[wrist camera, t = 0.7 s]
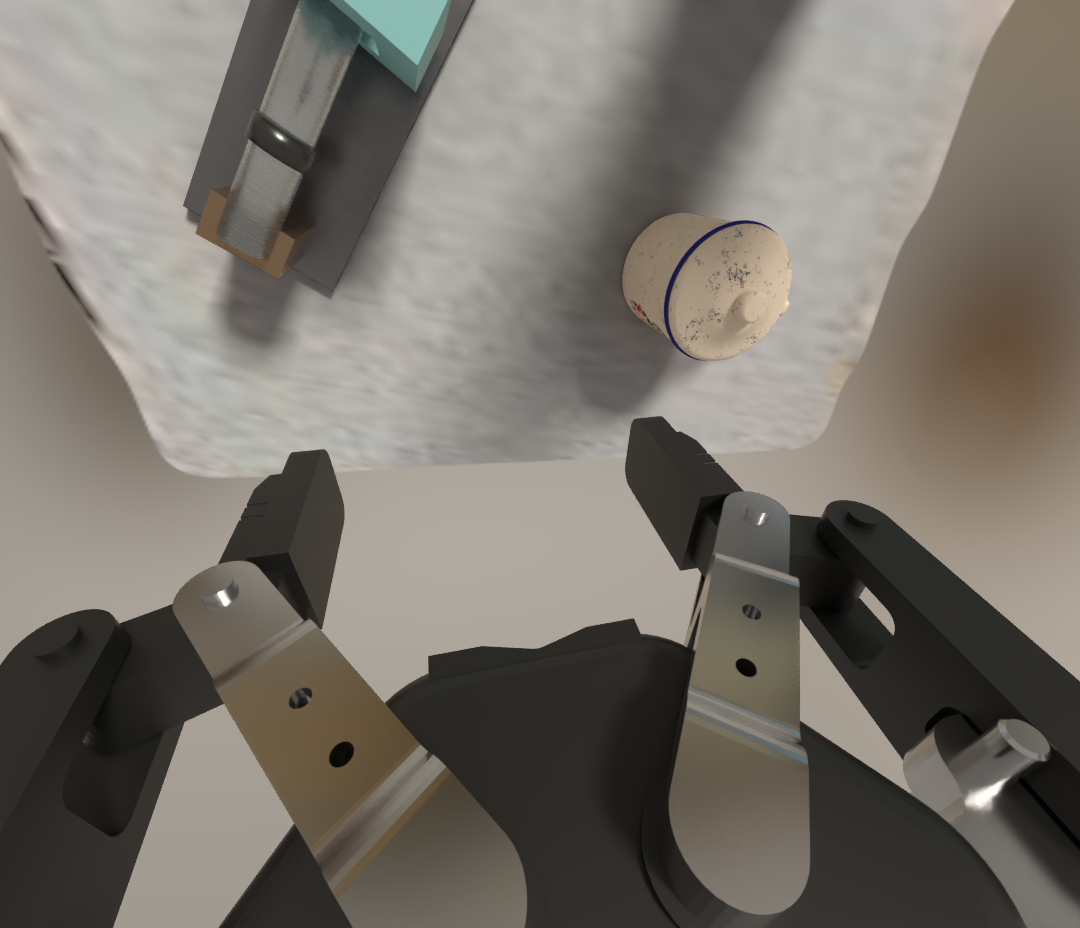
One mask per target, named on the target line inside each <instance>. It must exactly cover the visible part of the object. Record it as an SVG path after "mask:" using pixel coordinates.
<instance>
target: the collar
mask: <svg viewBox="0 0 1080 928" xmlns="http://www.w3.org/2000/svg"><path fill="white" fill-rule="evenodd" d="M330 1H331V2H332V3H333V4H334V5H335V6H337V7H338V8H339V9H340V10H341V11H342V12H343V13H345V14H346V15H347V16H348V17H349V18H350V19H351V20H353V21H354V22H355V23H356V24H357V25H358V26H359V27H361V28H362V29H363V30H364V31H363V33H362V36H361V38H360V40H359V44H360V45H361V46H362V47H363V48H364V49H366V50H367V51H368V52H369V53H370V54H371V55H373V56H374V57H375V58H376V59H377V60H378V61H380V62H381V63H382V64H383V65H384V66H385V67H387V68H388V69H389V70H390V71H391V72H392V73H394V74H395V75H396V76H397V77H398V78H399V79H401V80H402V81H403V82H404V83H405V84H406V85H408V86H409V87H410V88H411V89H412V90H413V91H415V92H416V90H417V88H418V86H419V84H420V82H421V80H422V78H423V75H424V73H425V71H426V69H427V67H428V65H429V63H430V61H431V59H432V56H433V54H434V52H435V50H436V48H437V46H438V44H439V42H440V39H441V37H442V35H443V31H444V27H445V23H446V19H447V16H448V12H449V8H450V4H451V0H330Z"/></svg>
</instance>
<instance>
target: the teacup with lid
mask: <svg viewBox="0 0 1080 928" xmlns="http://www.w3.org/2000/svg"><path fill="white" fill-rule="evenodd" d="M791 275H792V272H791V261H790V257H789V253H788V251H787V248H786V246H785V244H784V243H783V241H782V240H781V238H780V237H779V236H778V235H777V234H776V233H775V232H774V231H773V230H772V229H771V228H769V227H767V226H766V225H764V224H761V223H759V222H755V221H747V220H746V221H734V222H731V221H726V220H721V219H716V218H711V217H706V216H701V215H695V214H690V213H674V214H670V215H667V216H664V217H662V218H660V219H658V220H656V221H655V222H653V223H652V224H650V225H649V226H648V227H647V228H646V229H645V230H644V231H643V232H642V233H641V234H640V235H639V236H638V237H637V239H636V240H635V242H634V243H633V245H632V247H631V248H630V250H629V253H628V255H627V258H626V260H625V264H624V268H623V276H622V285H623V293H624V297H625V299H626V302H627V304H628V306H629V308H630V309H631V311H632V312H633V313H634V314H635V315H636V316H637V317H638V318H640V319H641V320H642V321H644V322H645V323H647V324H648V325H650V326H651V327H652V328H654V329H655V330H657V331H658V332H660V333H661V334H662V335H664V336H665V337H667V338H668V339H670V340H671V341H672V343H673V344H674V345H675V346H676V348H677V349H678V350H680V351H681V352H682V353H683V354H685V355H687V356H689V357H691V358H693V359H697V360H703V361H719V360H724V359H728V358H731V357H734V356H736V355H738V354H740V353H742V352H744V351H746V350H748V349H749V348H750V347H752V346H753V345H755V344H756V343H757V342H758V341H759V340H760V339H761V338H762V337H763V336H764V335H765V334H766V333H767V332H768V331H769V330H770V329H771V327H772V326H773V325H774V323H775V322H776V320H777V319H778V317H779V316H781V315H783V314H784V313H785V312H786V310H787V308H788V306H789V302H788V300H787V297H788V294H789V290H790V285H791Z"/></svg>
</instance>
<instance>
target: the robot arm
mask: <svg viewBox="0 0 1080 928" xmlns="http://www.w3.org/2000/svg"><path fill="white" fill-rule="evenodd" d="M625 472H626V479H627V482H628V485H629V487H630V488H631V490H632V492H633V493H634V495H635V497H636V499H637V500H638V502H639V503H640V505H641V507H642V508H643V510H644V511H645V513H646V515H647V517H648V518H649V520H650V521H651V523H652V525H653V526H654V528H655V530H656V531H657V533H658V535H659V536H660V538H661V539H662V541H663V543H664V545H665V546H666V548H667V549H668V551H669V553H670V554H671V556H672V557H673V559H674V561H675V562H676V564H677V566H678V568H679V569H680V570H687V569H693V568H698V569H699V570H700V572H701V576H700V579H699V583H698V587H697V591H696V596H695V600H694V604H693V609H692V613H691V618H690V622H689V626H688V630H687V635H686V639H685V643H684V645H682V644H679V643H677V642H674V641H672V640H669V639H665V638H662V637H658V636H653V635H648V634H640V632H639V629H638V627H637V625H636V623H635V620H634V619H628V620H622V621H617V622H612V623H606V624H600V625H595V626H590V627H585V628H583V629H581V630H579V631H577V632H575V633H572V634H570V635H568V636H566V637H564V638H562V639H559V640H557V641H555V642H553V643H551V644H548V645H546V646H544V647H541V648H538V649H524V648H505V647H504V648H503V647H486V646H481V647H475V648H470V649H465V650H459V651H454V652H449V653H443V654H438V655H432V656H428V659H429V660H428V662H429V663H428V665H429V674H426V675H424V676H422V677H420V678H418V679H416V680H415V681H413V682H411V683H409V684H408V685H406V686H405V687H404V688H402V689H401V690H399V691H398V692H397V693H395V694H394V695H393V696H392V697H391V698H390V699H389V700H388V701H386V702H385V703H384V702H383V701H382V700H381V699H380V697H379V696H378V695H377V694H376V693H375V692H374V691H373V689H372V688H371V687H370V686H369V685H368V684H367V682H366V681H365V680H364V679H363V678H362V677H361V676H360V674H359V673H358V672H357V671H356V670H355V669H354V668H353V667H352V665H351V664H350V663H349V662H348V661H347V660H346V659H345V657H344V656H343V655H342V654H341V653H340V652H339V651H338V649H337V648H336V647H335V646H334V645H333V644H332V643H331V642H330V640H329V639H328V638H327V637H326V636H325V634H324V633H323V632H322V631H321V630H320V629H322V626H323V622H324V616H325V612H326V607H327V602H328V598H329V593H330V588H331V583H332V578H333V573H334V568H335V563H336V559H337V553H338V548H339V544H340V539H341V533H342V529H343V524H344V504H343V500H342V496H341V493H340V490H339V486H338V483H337V480H336V476H335V473H334V470H333V467H332V463H331V460H330V457H329V455H328V453H327V451H326V450H325V449H322V450H312V451H302V452H292V453H291V454H290V455H289V458H288V460H287V462H286V465H285V467H284V469H283V472H282V474H276V475H270V476H269V477H268V478H266V479H265V480H264V481H263V482H262V483H261V484H260V485H259V486H258V487H256V488H255V489H254V491H253V493H252V495H251V497H250V499H249V502H248V503H247V508H245V510H244V512H243V514H242V516H241V521H239V522H238V524H237V526H236V528H235V530H234V532H233V535H232V537H231V538H230V540H229V543H228V545H227V547H226V549H225V551H224V553H223V555H222V557H221V559H220V561H219V563H218V565H216V566H213V567H211V568H209V569H206V570H204V571H202V572H201V573H199V574H197V575H196V576H194V577H193V578H191V579H190V580H189V581H188V582H187V583H186V584H185V585H184V586H183V587H182V588H181V589H180V590H179V592H178V593H177V594H176V597H175V598H174V601H173V604H171V605H169V606H167V607H164V608H161V609H159V610H156V611H153V612H151V613H148V614H145V615H142V616H139V617H136V618H134V619H131V620H128V621H125V622H122V623H120V624H119V623H118V621H117V620H116V619H115V618H114V617H113V615H111V614H110V613H109V612H107V611H104V610H99V609H90V610H83V611H78V612H74V613H71V614H68V615H65V616H62V617H60V618H58V619H55V620H53V621H51V622H49V623H47V624H45V625H44V626H42V627H40V628H39V629H37V630H36V631H34V632H33V633H31V634H30V635H28V636H27V637H26V638H25V639H23V640H22V641H21V642H20V643H19V644H18V645H17V646H15V647H14V648H13V649H12V651H11V652H10V653H9V654H8V655H7V657H6V658H5V660H4V661H3V662H2V664H1V665H0V928H113V926H114V923H115V920H116V917H117V914H118V911H119V909H120V906H121V903H122V900H123V897H124V894H125V891H126V888H127V885H128V883H129V880H130V877H131V874H132V871H133V868H134V866H135V863H136V859H137V857H138V854H139V851H140V848H141V845H142V843H143V840H144V837H145V834H146V831H147V828H148V825H149V822H150V820H151V817H152V814H153V811H154V808H155V805H156V802H157V799H158V796H159V794H160V791H161V788H162V785H163V782H164V779H165V777H166V773H167V771H168V768H169V765H170V762H171V759H172V756H173V753H174V751H175V748H176V745H177V742H178V739H179V736H180V733H181V731H182V728H183V725H184V722H185V721H187V720H189V719H192V718H194V717H196V716H198V715H200V714H203V713H205V712H207V711H209V710H211V709H213V708H216V707H218V706H220V705H222V704H225V706H226V708H227V709H228V711H229V713H230V715H231V716H232V718H233V720H234V721H235V723H236V725H237V726H238V728H239V730H240V732H241V733H242V735H243V737H244V738H245V740H246V742H247V743H248V745H249V747H250V749H251V750H252V752H253V754H254V755H255V757H256V759H257V760H258V762H259V764H260V766H261V767H262V769H263V770H264V772H265V774H266V776H267V777H268V779H269V781H270V782H271V784H272V786H273V788H274V789H275V791H276V793H277V795H278V796H279V798H280V800H281V801H282V803H283V805H284V806H285V808H286V810H287V811H288V813H289V815H290V817H291V818H292V820H293V822H294V824H293V826H292V827H291V829H290V830H289V832H288V833H287V834H286V836H285V837H284V838H283V840H282V841H281V842H280V844H279V845H278V846H277V848H276V849H275V851H274V852H273V853H272V855H271V856H270V858H269V859H268V860H267V862H266V863H265V865H264V866H263V867H262V869H261V870H260V872H259V873H258V874H257V875H256V877H255V878H254V880H253V881H252V882H251V884H250V885H249V886H248V888H247V889H246V891H245V892H244V893H243V895H242V896H241V898H240V899H239V900H238V902H237V903H236V904H235V906H234V907H233V909H232V910H231V911H230V913H229V914H228V915H227V917H226V918H225V920H224V921H223V922H222V924H221V925H220V926H219V928H1080V681H1079V680H1077V679H1076V678H1075V677H1074V676H1073V675H1072V674H1071V673H1069V672H1068V671H1067V670H1066V669H1065V668H1064V667H1062V666H1061V665H1060V664H1059V663H1058V662H1057V661H1055V660H1054V659H1053V658H1052V657H1051V656H1049V655H1048V654H1047V653H1046V652H1045V651H1044V650H1042V649H1041V648H1040V647H1039V646H1038V645H1037V644H1036V643H1034V642H1033V641H1032V640H1031V639H1030V638H1029V637H1027V636H1026V635H1025V634H1024V633H1023V632H1022V631H1020V630H1019V629H1018V628H1017V627H1016V626H1015V625H1013V624H1012V623H1011V622H1010V621H1009V620H1008V619H1007V618H1005V617H1004V616H1003V615H1002V614H1001V613H1000V612H998V611H997V610H996V609H995V608H994V607H993V606H991V605H990V604H989V603H988V602H987V601H986V600H984V599H983V598H982V597H981V596H980V595H979V594H977V593H976V592H975V591H974V590H973V589H972V588H970V587H969V586H968V585H967V584H966V583H965V582H963V581H962V580H961V579H960V578H959V577H958V576H956V575H955V574H954V573H953V572H952V571H951V570H949V569H948V568H947V567H946V566H945V565H943V564H942V563H941V562H940V561H939V560H938V559H937V558H936V557H934V556H933V555H932V554H931V553H930V552H929V551H927V550H926V549H925V548H924V547H923V546H922V545H920V544H919V543H918V542H917V541H916V540H915V539H913V538H912V537H911V536H910V535H909V534H907V533H906V532H905V531H904V530H903V529H902V528H901V527H899V526H898V525H897V524H896V523H895V522H894V521H893V520H891V519H890V518H889V517H888V516H886V515H885V514H883V513H882V512H880V511H879V510H877V509H875V508H873V507H871V506H868V505H865V504H862V503H859V502H854V501H847V500H840V501H834V502H831V503H830V504H828V505H827V507H826V509H825V511H824V513H823V515H822V517H810V516H799V515H790V514H789V513H788V512H787V510H786V509H785V508H784V507H783V506H782V505H781V504H780V503H778V502H777V501H776V500H774V499H772V498H770V497H768V496H765V495H762V494H759V493H754V492H748V491H743V490H742V489H741V488H740V487H739V486H738V484H737V483H736V482H735V481H734V480H733V479H732V478H731V477H730V476H729V475H728V474H727V473H726V472H725V471H724V470H723V468H722V467H721V466H720V465H719V464H718V463H715V460H714V459H713V458H712V457H711V455H710V454H707V451H706V450H705V449H704V448H703V447H702V446H701V445H700V444H699V443H698V442H697V440H695V439H693V438H691V437H689V436H688V435H686V434H684V433H682V432H676V431H675V430H674V429H673V428H672V427H671V425H670V424H669V423H668V422H667V421H666V420H665V419H664V418H663V417H662V416H657V417H647V418H637V419H634V420H633V422H632V424H631V429H630V436H629V443H628V450H627V457H626V464H625ZM865 587H867V588H868V589H869V590H870V591H871V593H872V594H874V596H875V597H876V598H877V599H878V600H879V601H880V602H881V603H882V604H883V605H884V607H885V608H886V609H887V610H888V611H889V613H890V614H891V616H892V618H893V621H894V624H895V632H894V635H892V634H891V633H890V632H889V631H888V630H887V628H886V627H885V626H884V625H883V624H882V623H881V622H880V620H879V619H877V617H876V616H875V615H874V614H873V613H872V612H871V610H870V609H869V608H868V607H867V606H866V605H865V604H864V603H863V601H862V600H861V599H860V598H859V596H860V595H861V593H862V592H863V590H864V588H865ZM800 619H801V620H802V622H803V623H804V625H805V626H806V627H807V629H808V630H809V631H810V633H811V634H812V636H813V637H814V638H815V640H816V641H817V642H818V644H819V645H820V647H821V648H822V649H823V651H824V652H825V653H826V655H827V656H828V657H829V659H830V660H831V662H832V663H833V664H834V666H835V667H836V669H837V670H838V671H839V673H840V674H841V675H842V677H843V678H844V679H845V681H846V682H847V684H848V685H849V686H850V688H851V689H852V691H853V692H854V693H855V695H856V696H857V697H858V699H859V700H860V702H861V703H862V704H863V706H864V707H865V708H866V710H867V711H868V713H869V714H870V715H871V717H872V718H873V719H874V721H875V722H876V724H877V725H878V726H879V728H880V729H881V730H882V732H883V733H884V734H885V736H886V737H887V739H888V740H889V741H890V743H891V744H892V745H893V747H894V748H895V750H896V751H897V753H898V754H899V755H900V757H901V758H902V759H903V771H904V775H905V779H906V781H907V783H908V786H909V788H910V789H911V791H912V792H911V793H908V792H907V791H905V790H904V789H902V788H901V787H899V786H898V785H896V784H895V783H893V782H892V781H890V780H889V779H887V778H886V777H884V776H882V775H881V774H880V773H878V772H877V771H875V770H874V769H872V768H871V767H869V766H867V765H866V764H864V763H863V762H862V761H860V760H859V759H857V758H855V757H854V756H852V755H851V754H849V753H848V752H846V751H845V750H843V749H842V748H840V747H839V746H837V745H836V744H834V743H833V742H831V741H830V740H828V739H826V738H825V737H824V736H822V735H821V734H819V733H818V732H816V731H815V730H813V729H812V728H810V727H809V726H807V725H806V724H804V723H803V722H801V721H800V645H799V644H800V642H799V641H800V634H799V633H800V627H799V626H800V625H799V624H800Z"/></svg>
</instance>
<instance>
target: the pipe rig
mask: <svg viewBox="0 0 1080 928" xmlns="http://www.w3.org/2000/svg"><path fill="white" fill-rule="evenodd" d="M472 1H473V0H451V4H450V8H449V12H448V16H447V19H446V23H445V27H444V31H443V35H442V37H441V39H440V42H439V44H438V46H437V48H436V50H435V52H434V54H433V56H432V59H431V61H430V63H429V65H428V67H427V69H426V71H425V73H424V75H423V78H422V80H421V82H420V84H419V86H418V88H417V90H416V92H415V91H413V90H412V89H411V88H410V87H409V86H408V85H406V84H405V83H404V82H403V81H402V80H401V79H399V78H398V77H397V76H396V75H395V74H394V73H392V72H391V71H390V70H389V69H388V68H387V67H385V66H384V65H383V64H382V63H381V62H380V61H378V60H377V59H376V58H375V57H374V56H373V55H371V54H370V53H369V52H368V51H367V50H366V49H364V48H363V47H362V46H361V45H360V44H359V40H360V38H361V36H362V33H363V31H364V30H363V29H362V28H361V27H359V26H358V25H357V24H356V23H355V22H354V21H353V20H351V19H350V18H349V17H348V16H347V15H346V14H345V13H343V12H342V11H341V10H340V9H339V8H338V7H337V6H335V5H334V4H333V3H332V2H331V1H330V0H251V1H250V4H249V7H248V10H247V13H246V16H245V19H244V22H243V25H242V28H241V31H240V34H239V37H238V40H237V43H236V46H235V49H234V52H233V55H232V59H231V62H230V65H229V68H228V71H227V74H226V77H225V80H224V83H223V86H222V89H221V92H220V95H219V98H218V101H217V104H216V107H215V110H214V113H213V116H212V119H211V122H210V125H209V129H208V132H207V135H206V138H205V141H204V144H203V147H202V150H201V153H200V156H199V159H198V162H197V165H196V168H195V171H194V174H193V177H192V180H191V183H190V186H189V189H188V192H187V195H186V198H185V202H184V205H183V206H184V207H186V208H188V209H190V210H191V211H193V212H195V213H197V214H198V215H200V216H201V219H200V222H199V225H198V228H197V231H196V234H197V235H199V236H201V237H203V238H205V239H207V240H208V241H210V242H212V243H214V244H216V245H218V246H219V247H221V248H223V249H225V250H227V251H228V252H230V253H232V254H234V255H236V256H238V257H239V258H241V259H243V260H245V261H247V262H248V263H250V264H252V265H254V266H256V267H258V268H259V269H261V270H263V271H265V272H267V273H269V274H270V275H272V276H274V277H276V278H280V277H281V276H282V275H283V274H284V273H285V272H286V271H287V270H288V269H289V268H291V267H292V268H293V269H295V270H297V271H299V272H301V273H302V274H304V275H306V276H308V277H309V278H311V279H313V280H315V281H316V282H318V283H320V284H322V285H323V286H325V287H327V288H329V289H330V290H332V291H333V289H334V287H335V285H336V283H337V281H338V279H339V277H340V275H341V273H342V271H343V269H344V267H345V265H346V263H347V260H348V258H349V256H350V254H351V252H352V250H353V248H354V246H355V244H356V242H357V240H358V238H359V235H360V233H361V231H362V229H363V227H364V225H365V223H366V221H367V219H368V217H369V215H370V213H371V211H372V208H373V206H374V204H375V202H376V200H377V198H378V196H379V194H380V192H381V190H382V188H383V186H384V184H385V181H386V179H387V177H388V175H389V173H390V171H391V169H392V167H393V165H394V163H395V161H396V159H397V157H398V154H399V152H400V150H401V148H402V146H403V144H404V142H405V140H406V138H407V136H408V134H409V132H410V129H411V127H412V125H413V123H414V121H415V119H416V117H417V115H418V113H419V111H420V109H421V107H422V105H423V102H424V100H425V98H426V96H427V94H428V92H429V90H430V88H431V86H432V84H433V82H434V80H435V78H436V75H437V73H438V71H439V69H440V67H441V65H442V63H443V61H444V59H445V57H446V55H447V53H448V50H449V48H450V46H451V44H452V42H453V40H454V38H455V36H456V34H457V32H458V30H459V28H460V26H461V23H462V21H463V19H464V17H465V15H466V13H467V11H468V9H469V7H470V5H471V3H472Z"/></svg>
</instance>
